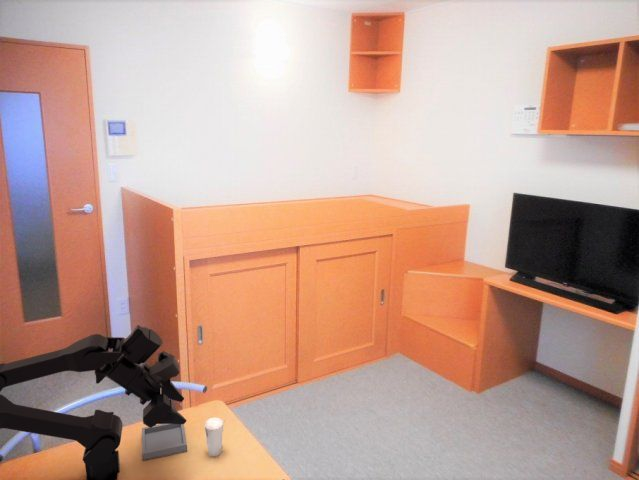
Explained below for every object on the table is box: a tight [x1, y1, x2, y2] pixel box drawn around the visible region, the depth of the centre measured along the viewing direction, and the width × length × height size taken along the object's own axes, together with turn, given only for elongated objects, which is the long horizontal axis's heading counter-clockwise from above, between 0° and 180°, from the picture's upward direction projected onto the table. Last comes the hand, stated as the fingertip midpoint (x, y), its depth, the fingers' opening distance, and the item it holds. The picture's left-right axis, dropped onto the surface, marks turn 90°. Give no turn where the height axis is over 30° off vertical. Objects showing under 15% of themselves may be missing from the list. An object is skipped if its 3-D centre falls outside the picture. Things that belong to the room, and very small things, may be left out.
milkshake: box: [204, 417, 226, 457], centre depth 115 cm, size 4×5×10 cm
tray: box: [141, 424, 188, 462], centre depth 119 cm, size 10×10×2 cm
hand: (184, 410), depth 111 cm, fingers open, 9 cm apart
